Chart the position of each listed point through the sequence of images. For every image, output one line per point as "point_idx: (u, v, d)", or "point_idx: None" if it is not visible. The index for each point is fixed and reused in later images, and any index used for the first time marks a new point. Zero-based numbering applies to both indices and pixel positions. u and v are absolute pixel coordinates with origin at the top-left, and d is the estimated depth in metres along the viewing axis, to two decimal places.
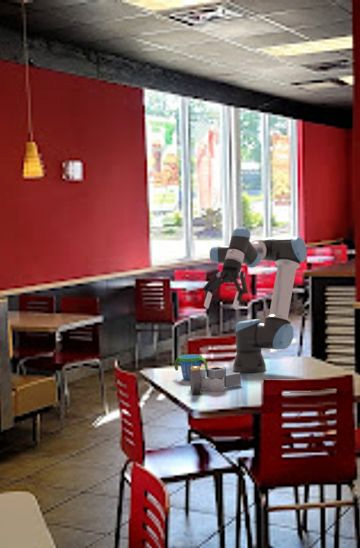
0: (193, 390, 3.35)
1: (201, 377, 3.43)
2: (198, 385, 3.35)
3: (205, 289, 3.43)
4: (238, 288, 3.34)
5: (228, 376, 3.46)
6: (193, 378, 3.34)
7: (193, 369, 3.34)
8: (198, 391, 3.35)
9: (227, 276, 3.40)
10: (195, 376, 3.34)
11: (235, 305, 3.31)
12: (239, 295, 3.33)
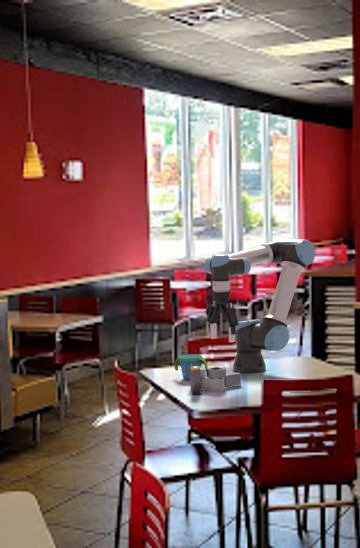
0: (193, 390, 3.35)
1: (201, 377, 3.43)
2: (198, 385, 3.35)
3: (208, 320, 3.61)
4: (229, 322, 3.47)
5: (228, 376, 3.46)
6: (193, 378, 3.34)
7: (193, 369, 3.34)
8: (198, 391, 3.35)
9: (219, 308, 3.53)
10: (195, 376, 3.34)
11: (231, 340, 3.48)
12: (231, 329, 3.47)
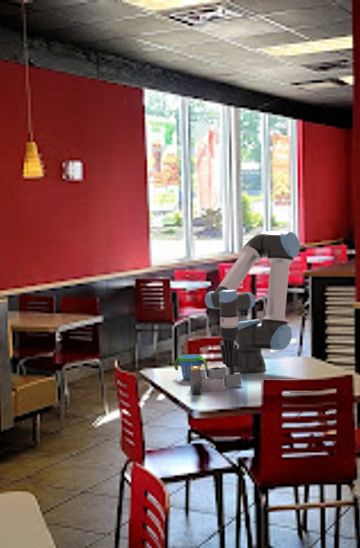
0: (193, 390, 3.35)
1: (201, 377, 3.43)
2: (198, 385, 3.35)
3: (224, 362, 3.52)
4: (229, 362, 3.49)
5: (228, 376, 3.46)
6: (193, 378, 3.34)
7: (193, 369, 3.34)
8: (198, 391, 3.35)
9: None
10: (195, 376, 3.34)
11: None
12: (230, 370, 3.49)
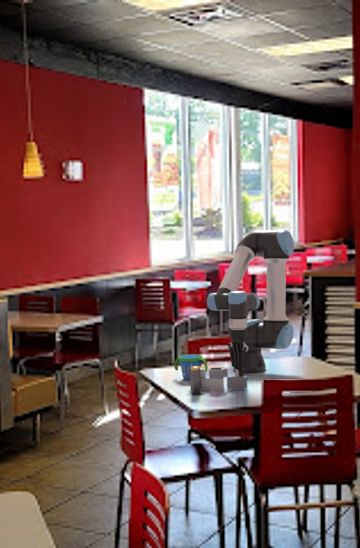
0: (193, 390, 3.35)
1: (201, 377, 3.43)
2: (198, 385, 3.35)
3: (233, 364, 3.47)
4: (238, 364, 3.43)
5: (230, 378, 3.42)
6: (193, 378, 3.34)
7: (193, 369, 3.34)
8: (198, 391, 3.35)
9: (236, 346, 3.44)
10: (195, 376, 3.34)
11: None
12: (239, 372, 3.44)
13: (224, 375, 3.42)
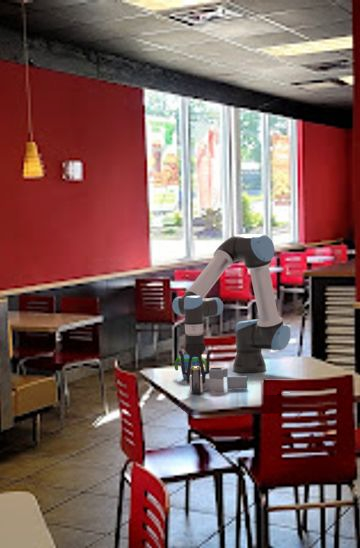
0: (193, 390, 3.35)
1: None
2: (198, 385, 3.35)
3: (185, 372, 3.35)
4: (202, 370, 3.34)
5: (230, 378, 3.42)
6: (193, 378, 3.34)
7: (193, 369, 3.34)
8: (198, 391, 3.35)
9: (194, 352, 3.34)
10: (195, 376, 3.34)
11: (202, 389, 3.35)
12: (203, 378, 3.35)
13: (224, 375, 3.42)
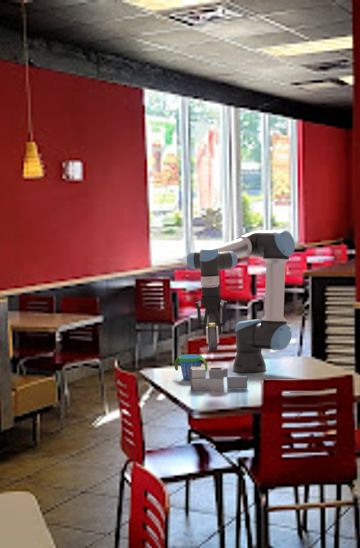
0: (210, 346, 3.40)
1: (201, 377, 3.43)
2: (215, 341, 3.40)
3: (201, 324, 3.40)
4: (218, 322, 3.39)
5: (230, 378, 3.42)
6: (210, 334, 3.40)
7: (210, 325, 3.39)
8: (215, 347, 3.40)
9: (210, 304, 3.39)
10: (212, 332, 3.39)
11: (218, 340, 3.41)
12: (219, 329, 3.40)
13: (224, 375, 3.42)
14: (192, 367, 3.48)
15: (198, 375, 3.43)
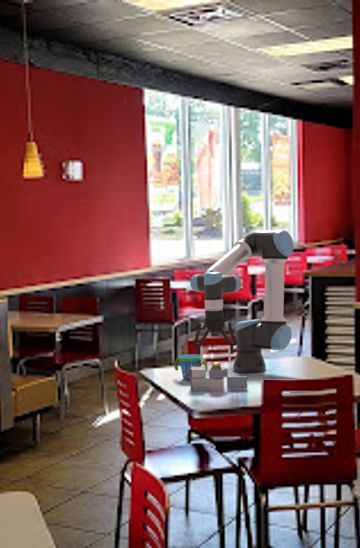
0: None
1: (201, 377, 3.43)
2: None
3: (196, 344, 3.42)
4: (229, 342, 3.41)
5: (230, 378, 3.42)
6: None
7: (214, 365, 3.41)
8: None
9: (214, 327, 3.41)
10: None
11: (230, 360, 3.42)
12: (231, 349, 3.41)
13: (224, 375, 3.42)
14: (192, 367, 3.48)
15: (198, 375, 3.43)
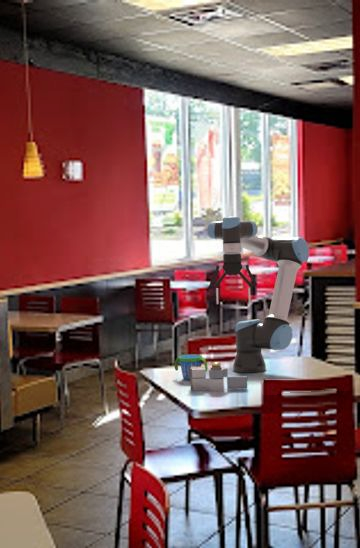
0: None
1: (201, 377, 3.43)
2: None
3: (211, 286, 3.50)
4: (249, 283, 3.48)
5: (230, 378, 3.42)
6: None
7: (214, 365, 3.41)
8: None
9: (232, 271, 3.48)
10: None
11: (250, 300, 3.49)
12: (251, 290, 3.49)
13: (224, 375, 3.42)
14: (192, 367, 3.48)
15: (198, 375, 3.43)
